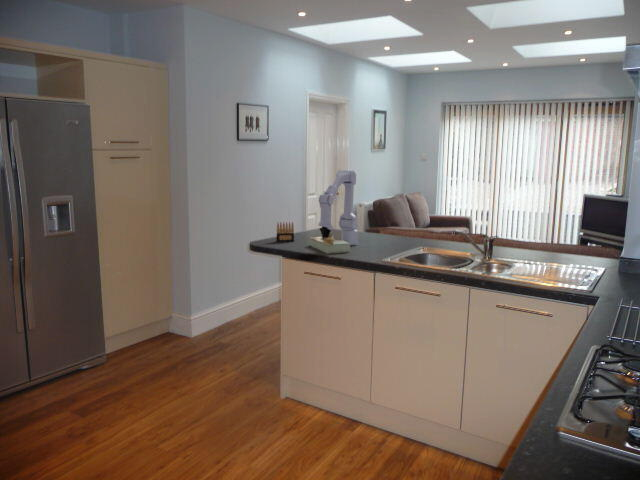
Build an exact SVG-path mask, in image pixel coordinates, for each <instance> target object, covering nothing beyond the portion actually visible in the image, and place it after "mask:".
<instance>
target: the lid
mask: <svg viewBox="0 0 640 480" xmlns="http://www.w3.org/2000/svg"><path fill="white" fill-rule="evenodd" d="M329 238H332V239H333V242H337V241H343V240H342V238H338V237H335V236H333V233H330V234H329ZM310 239H311V240H313V241H316V242H318V243H320V244H322V242H324V241H323V238H322V236H311V237H309V240H310Z"/></svg>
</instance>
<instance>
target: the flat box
mask: <svg viewBox="0 0 640 480" xmlns="http://www.w3.org/2000/svg"><path fill="white" fill-rule="evenodd" d="M309 247H311V248H313V249H316V250H318V251H320V252H322V253H325V254H327V255H328V254H343V253H345V254H346V253H350V252H351V245H350V243H348V242H346V241H337V242H333V245H327V244H325V243H324V242H322V244H320V243H318V242H316V241H313V240H311V239H310V238H309Z"/></svg>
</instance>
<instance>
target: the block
mask: <svg viewBox="0 0 640 480" xmlns="http://www.w3.org/2000/svg"><path fill="white" fill-rule="evenodd" d="M324 243H325V244H327V245H333V239H332V238H329V237H327V238H324Z"/></svg>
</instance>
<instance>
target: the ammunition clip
mask: <svg viewBox="0 0 640 480" xmlns="http://www.w3.org/2000/svg"><path fill="white" fill-rule="evenodd" d="M294 231H295V228H294V222H293V221H292V222H290V221H289V223H288V222H287V221H286V222H284V221H283V223H282V222H280V223H279V222H277V223H276V237H275V238H276V239H275V242H276V243H288V242H289V243H291V242H293V241H294V242H295V232H294Z"/></svg>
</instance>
